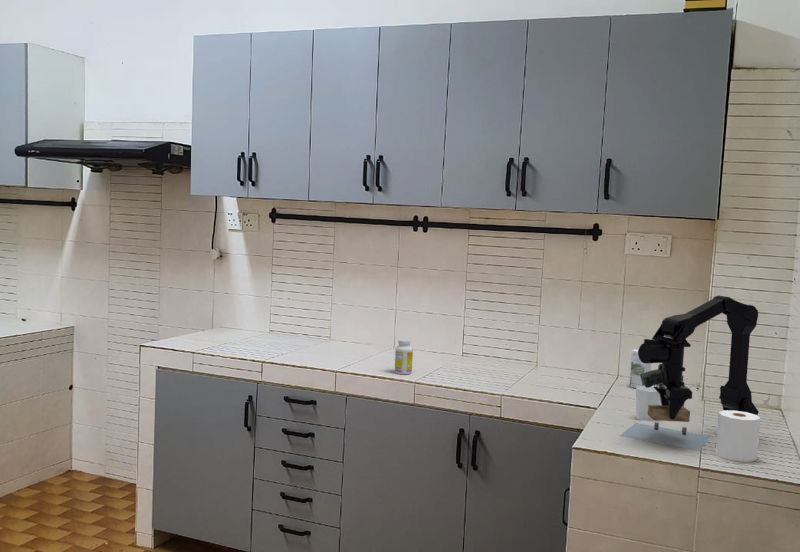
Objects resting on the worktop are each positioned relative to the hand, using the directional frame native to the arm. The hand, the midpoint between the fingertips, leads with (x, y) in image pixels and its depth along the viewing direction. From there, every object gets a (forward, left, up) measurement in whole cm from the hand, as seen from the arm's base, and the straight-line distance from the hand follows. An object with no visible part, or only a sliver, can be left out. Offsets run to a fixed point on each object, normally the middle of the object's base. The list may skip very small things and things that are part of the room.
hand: (668, 416), depth 226 cm
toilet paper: (-19, +4, -8) cm, 21 cm away
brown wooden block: (0, 0, -1) cm, 1 cm away
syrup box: (+25, -68, -8) cm, 73 cm away
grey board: (+1, -3, -8) cm, 8 cm away
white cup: (+11, -22, -8) cm, 26 cm away
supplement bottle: (+105, -28, -8) cm, 109 cm away
